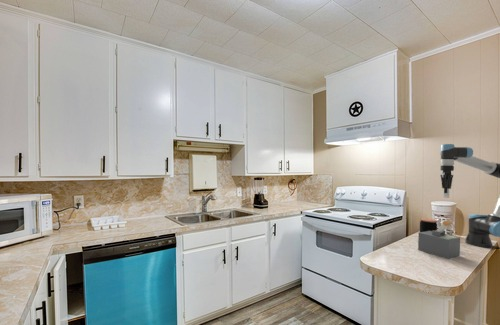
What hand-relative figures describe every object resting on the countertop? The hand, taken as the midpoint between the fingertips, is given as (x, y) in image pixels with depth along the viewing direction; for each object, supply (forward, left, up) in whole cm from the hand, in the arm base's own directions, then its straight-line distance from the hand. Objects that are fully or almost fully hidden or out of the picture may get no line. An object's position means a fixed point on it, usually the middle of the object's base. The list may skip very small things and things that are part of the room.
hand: (446, 197), depth 176 cm
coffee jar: (+1, -11, -37) cm, 38 cm away
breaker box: (+18, +4, -36) cm, 41 cm away
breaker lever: (+18, +3, -23) cm, 30 cm away
